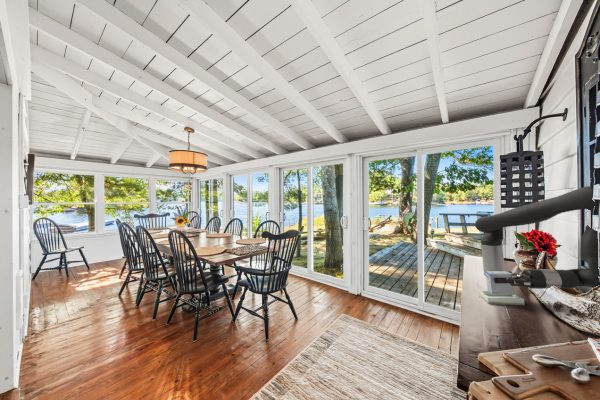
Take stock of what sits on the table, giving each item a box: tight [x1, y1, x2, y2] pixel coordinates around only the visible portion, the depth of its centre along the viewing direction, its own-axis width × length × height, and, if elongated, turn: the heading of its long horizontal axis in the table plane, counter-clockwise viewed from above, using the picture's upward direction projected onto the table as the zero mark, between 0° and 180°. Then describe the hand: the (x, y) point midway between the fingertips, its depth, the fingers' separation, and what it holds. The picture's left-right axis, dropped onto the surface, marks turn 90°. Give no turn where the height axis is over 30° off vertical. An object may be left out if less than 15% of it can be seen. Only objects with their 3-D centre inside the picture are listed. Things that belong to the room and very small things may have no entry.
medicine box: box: [485, 270, 516, 295], centre depth 99 cm, size 8×4×9 cm, turn 71°
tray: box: [478, 290, 525, 306], centre depth 99 cm, size 8×12×2 cm
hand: (491, 278), depth 99 cm, fingers closed on medicine box, 4 cm apart
